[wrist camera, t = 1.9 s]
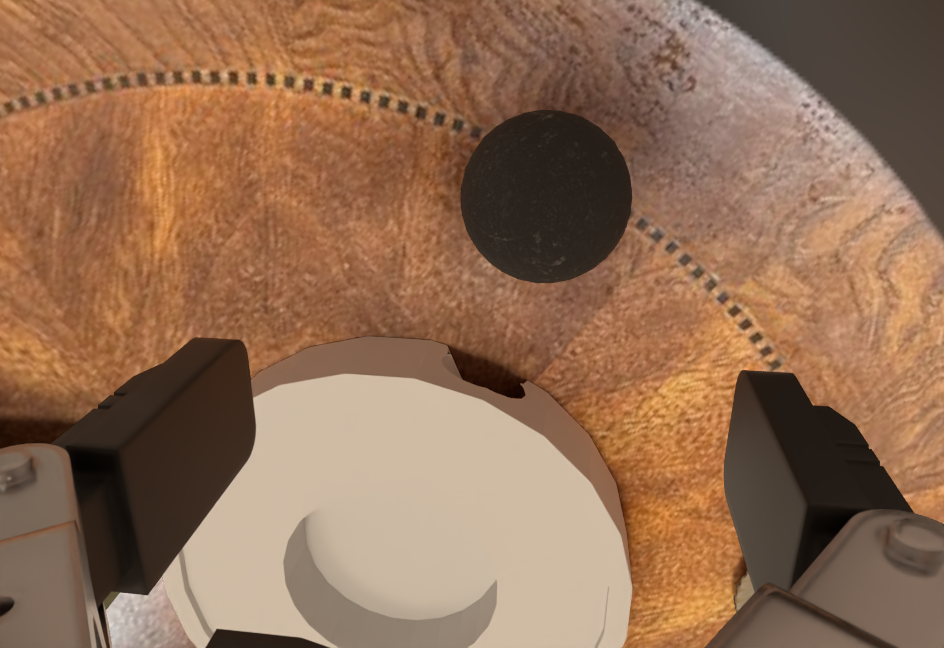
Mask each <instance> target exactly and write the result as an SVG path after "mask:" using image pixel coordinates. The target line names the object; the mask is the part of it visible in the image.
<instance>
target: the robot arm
mask: <svg viewBox="0 0 944 648" xmlns="http://www.w3.org/2000/svg"><path fill="white" fill-rule="evenodd" d="M255 437H256V419H255V411H254V403H253V394H252V386H251V378H250V370H249V361H248V354H247V350H246V347H245V345H244V344H243V342H242V341H240V340H233V339H215V338H198V337H196V338H193V339H192V340H190V341H189V342H188V343H187V344H186V345H184V346H183V347H182V348H181V349H180V350H178V351H177V352H176V353H175V354H174V355H172V356H171V357H170V358H169V359H168V360H166V361H165V362H164V363H162V364H160V365H158V366H155V367H153V368H151V369H149V370H147V371H144V372H142V373H140V374H138V375H136V376H133V377H132V378H131V379H130V380H129V381H127V382H126V383H125V384H124V385H122V386H121V387H120V388H119V389H117V390H116V391H115V392H114V396H112V395H110V396H109V397H108V398H106V399H105V400H104V401H103V402H101V403H100V404H99V405H98V409H93V410H92V411H90V412H89V413H88V414H87V415H85V416H84V417H83V418H82V419H81V420H79V421H78V422H77V423H76V424H74V425H73V426H72V427H71V428H69V429H68V430H67V431H66V432H65V433H63V434H62V435H61V436H60V437H58V438H57V439H56V440H55V441H53V442H52V443H51V444H45V443H29V444H21V445H15V446H10V447H6V448H2V449H0V648H112V643H111V637H110V631H109V625H108V619H107V615H106V611H105V606H104V602H103V601H104V600H105V599H106V598H107V597H108V595H109V594H110V593H111V592H122V593H131V594H141V595H148V594H149V593H150V591H151V590H152V589H153V587H154V586H155V585H156V583H157V582H158V581H159V579H160V578H161V577H162V575H163V574H164V573H165V571H166V570H167V569H168V567H169V566H170V565H171V563H172V562H173V561H174V559H175V558H176V556H177V555H178V554H179V552H180V551H181V550H182V548H183V547H184V546H185V544H186V543H187V542H188V540H189V539H190V538H191V536H192V535H193V534H194V532H195V531H196V530H197V528H198V527H199V526H200V524H201V523H202V521H203V520H204V519H205V517H206V516H207V515H208V513H209V512H210V511H211V509H212V508H213V507H214V505H215V504H216V503H217V501H218V500H219V499H220V497H221V496H222V495H223V493H224V492H225V491H226V489H227V488H228V487H229V485H230V484H231V482H232V481H233V480H234V478H235V477H236V476H237V474H238V473H239V472H240V470H241V469H242V468H243V466H244V465H245V464H246V462H247V461H248V459H249V458H250V456H251V453H252V451H253V447H254V443H255ZM724 488H725V495H726V500H727V503H728V506H729V510H730V513H731V516H732V520H733V523H734V526H735V530H736V533H737V536H738V540H739V543H740V546H741V550H742V553H743V556H744V560H745V563H746V566H747V570H748V573H749V576H750V580H751V583H752V586H753V590H754V594H753V595H752V596H751V597H750V598H749V599H748V601H747V602H746V603H745V604H744V605H743V606H742V607H741V608H740V609H739V610H738V612H737V613H736V614H735V615H734V616H733V617H732V618H731V619H730V620H729V621H728V622H727V624H726V625H725V626H724V627H723V628H722V629H721V630H720V631H719V632H718V633H717V635H716V636H715V637H714V638H713V639H712V640H711V641H710V642H709V643H708V644H707V645H706V647H705V648H944V524H942V523H940V522H938V521H936V520H933V519H930V518H928V517H925V516H922V515H918V514H915V513H914V512H913V511H912V509H911V508H910V506H909V505H908V503H907V502H906V500H905V499H904V497H903V496H902V494H901V493H900V491H899V490H898V488H897V487H896V485H895V484H894V482H893V481H892V479H891V478H890V476H889V475H888V473H887V472H886V470H885V469H884V467H883V466H880V461H879V460H878V458H877V457H876V455H875V454H874V452H873V451H872V449H869V445H868V443H867V442H866V440H865V439H864V437H863V436H862V434H861V433H860V431H859V430H858V428H857V427H856V425H855V424H853V423H852V422H850V421H849V420H848V419H846V418H845V417H843V416H842V415H840V414H839V413H838V412H836V411H835V410H833V409H832V408H830V407H829V406H813V405H812V403H811V402H810V400H809V398H808V397H807V395H806V393H805V391H804V390H803V388H802V386H801V385H800V383H799V381H798V380H797V378H796V376H795V375H794V374H793V373H783V372H766V371H748V370H742V371H741V372H740V374H739V376H738V379H737V383H736V388H735V395H734V401H733V408H732V414H731V421H730V427H729V434H728V440H727V447H726V454H725V461H724ZM206 648H330V647H327V646H324V645H321V644H318V643H316V642H313V641H310V640H307V639H304V638H300V637H291V636H282V635H272V634H263V633H254V632H244V631H235V630H225V629H216V631H215V632H214V634H213V636H212V637H211V639H210V641H209V642H208V644H207V646H206Z"/></svg>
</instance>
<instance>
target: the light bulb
mask: <svg viewBox="0 0 944 648" xmlns="http://www.w3.org/2000/svg"><path fill="white" fill-rule="evenodd" d="M631 203H632V188H631V180H630V174H629V171H628V168H627V165H626V162H625V159H624V157H623V155H622V154H621V152H620V151H619V149H618V147H617V145H616V144H615V142H614V141H613V140H612V139H611V138H610V137H609V136H608V135H607V134H606V133H605V132H604V131H602V130H601V129H600V128H599V127H598V126H596V125H594V124H593V123H591V122H589V121H588V120H586V119H585V118H582V117H580V116H577V115H574V114H571V113H567V112H563V111H553V110H539V111H533V112H527V113H523V114H521V115H518V116H516V117H513V118H510V119H508V120H506V121H505V122H503V123H501V124H500V125H498V126H497V127H495V128H494V129H493V130H492V131H491V132H490V133H489V134H487V135H486V136H485V137H484V138H483V140H482V141H481V142H480V144H479V145H478V146H477V148H476V149H475V151H474V152H473V154H472V156H471V158H470V160H469V162H468V164H467V166H466V169H465V173H464V178H463V182H462V186H461V210H462V216H463V219H464V223H465V226H466V230H467V232H468V234H469V237H470V238H471V240H472V241H473V243H474V245H475V246H476V248H477V249H478V251H479V252H480V253H481V254H482V255H483V256H484V257H485V258H486V259H487V260H488V261H489V262H490V263H491V264H492V265H494V266H495V267H497V268H498V269H499V270H501V271H502V272H504V273H506V274H508V275H510V276H512V277H515V278H517V279H520V280H524V281H529V282H534V283H555V282H560V281H565V280H570V279H573V278H575V277H578V276H580V275H582V274H584V273H586V272H588V271H590V270H591V269H593V268H594V267H596V266H597V265H598V264H599V263H601V262H602V261H603V260H604V259H606V258H607V256H608V255H609V254H610V253H611V252H612V250H613V249H614V248H615V247H616V246H617V244H618V242H619V240H620V239H621V237H622V235H623V234H624V231H625V228H626V227H627V222H628V219H629V216H630V212H631Z"/></svg>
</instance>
